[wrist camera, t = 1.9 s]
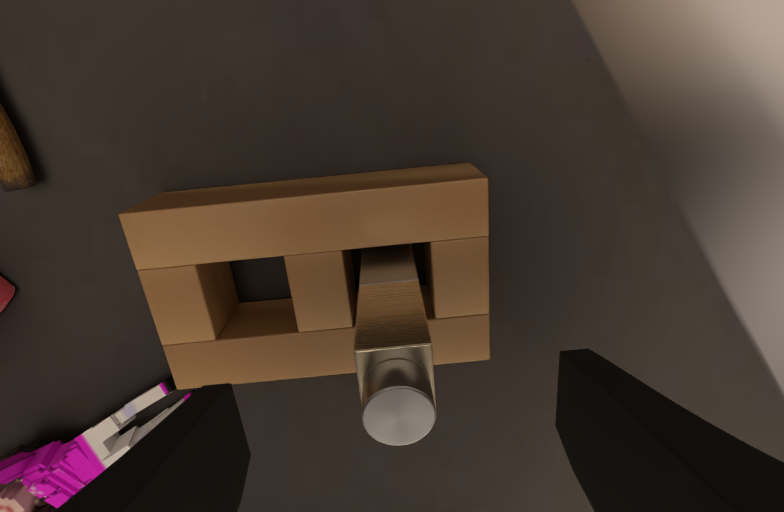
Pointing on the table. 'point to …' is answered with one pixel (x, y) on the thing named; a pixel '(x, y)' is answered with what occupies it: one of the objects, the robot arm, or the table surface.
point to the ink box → (5, 293)
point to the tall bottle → (393, 348)
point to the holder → (308, 268)
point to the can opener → (13, 158)
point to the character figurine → (74, 457)
